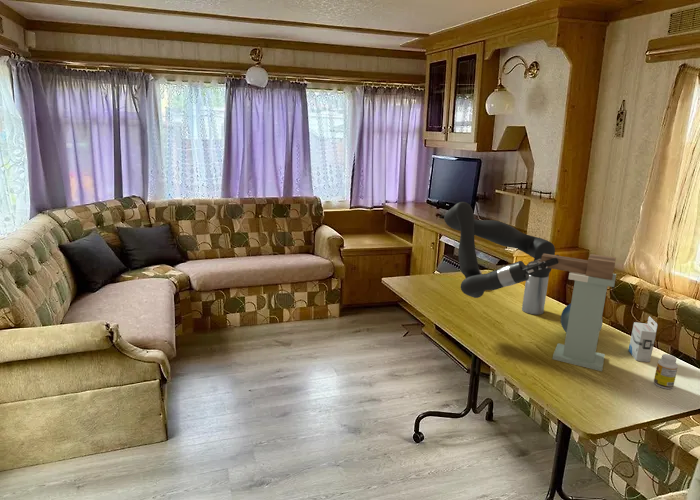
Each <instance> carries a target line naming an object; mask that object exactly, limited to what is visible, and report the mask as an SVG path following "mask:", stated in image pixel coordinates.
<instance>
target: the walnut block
mask: <svg viewBox="0 0 700 500" xmlns="http://www.w3.org/2000/svg"><path fill="white" fill-rule="evenodd" d="M556 255H557V254H556ZM556 255H550V254H543V255H542V258H541V262H543V261H546V260H549V259H552V258H555V257H556V258H557V259H558V261H559V263H558V264H555V265H552V266H549V267H548V268H552V269H551V270H558V271H564V272H569V273H570V272H576V273H582V274H586V276H591V277H597V278H603V279H609V280H612V277H613V274H614V273H615V272H614V270H615V266H616V261H617V257H614V256H608V255H601V254H594V253H590V254H589V256H588V258H587V259H581V258H575V257H569V256H561V255H559V256H556Z"/></svg>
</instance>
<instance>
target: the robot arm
mask: <svg viewBox="0 0 700 500" xmlns="http://www.w3.org/2000/svg"><path fill="white" fill-rule="evenodd" d="M443 218H444V222H445V225H447V226H448V227H449V228H451V229H453V230H456V231H459V232H460V238H459V244H458V252H457V253H458V254H457V255H458V263H459V267H460V268H459V269H460V272H461V274H462V275H463V276H464V279H463V280H462V281H461V284H460V290H461V291H462V293H463V294H465V295H466V296H469V297H471V298H474V299H476V298H477V299H478V298H481V297H482V296H483V295H484V293H485V291H488V290H489V291H496V290H499V289H502V288H505V287H511V286H513V285H516V284H520V283H523V282H525V283H524V284H525V285H524V290H523V298H522V299H523V300H522V306H521V310H522V311H523V312H524V313H526V314H530V315H537V316H539V315H543V314H544V311H545V304H546V299H547V298H546V297H547V291H548V284H549V278H550V273H551V271H552V270H553V269H552V268H548V267H549V266H552V265H555V264H558V263H559V261H558V259H557V258H556V257H555V258H552V259H549V260H546V261H543V262H541V258H542V255H543V254H550V255H555V254H556V249H555V248H556V247H555V245H554V244H553V243H552V242H551V241H550V240H549V241H548V240H546V239H544V238H541V237H537V236H533V235H530V234H526V233H524V232H522V231H520V230H518V228H515V227H513V226H512V225H509V224H507V223H505V222H502V221H499V220H494V219H493V220H491V219H475V213H474V210H473V208H472V206H471V204H469V203H467V202H466V201H459V202H457V203H456V204H454V205H453V206H451V208H450V209H448V210H447V211H446V213H445V214H444V216H443ZM475 236H476V237H479V238H481V239H484V240H487V241H490V242H492V243H493V244H497V245H499V246H502V247H506V248H507V247H508V248H513V249H516V250H519V251H521V252H523V253H525V254H526V255H528V256H530V257H531V258H533V260H531V261H529V262H528V263H527V264H525V263H524V262H523V260H519V261H516V262H512V263H510V264H508V265H504V266H502V267H500V268H498V269H495V270H493V271H492V270H491V271H489V272H487V273H482V274H481V273H480V271H481V270H480V269H479V264H478V263H479V262H478V258H477V253H476V243H475ZM556 256H560V255H559V254H556ZM479 270H480V271H479Z"/></svg>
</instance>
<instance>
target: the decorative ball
mask: <svg viewBox="0 0 700 500" xmlns="http://www.w3.org/2000/svg"><path fill="white" fill-rule="evenodd" d="M570 308H571V303H569V304H567V305H566V306H565V307H564V308H563V310H562V312H561V315H560V325H561V327H562V329H563V331H564V332H565V333H566V332H567V326H568V320H569V314H570ZM602 327H603V319H602V320H601V325H600V331H601V330H602Z"/></svg>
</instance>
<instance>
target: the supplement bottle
mask: <svg viewBox="0 0 700 500" xmlns="http://www.w3.org/2000/svg"><path fill="white" fill-rule="evenodd" d="M678 368H679V366H678V363H677V357H676V356H674V355H672V354H669V353H668V354H667V353H663V354H662V355H661V357H660V359H658V360H657V364H656V369H655V373H654V378H653V383H654V385H656V387H659V388H661V389H665V390H670V389H671V390H672V389H673V388H674V385H675V381H676V377H677V373H678Z"/></svg>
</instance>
